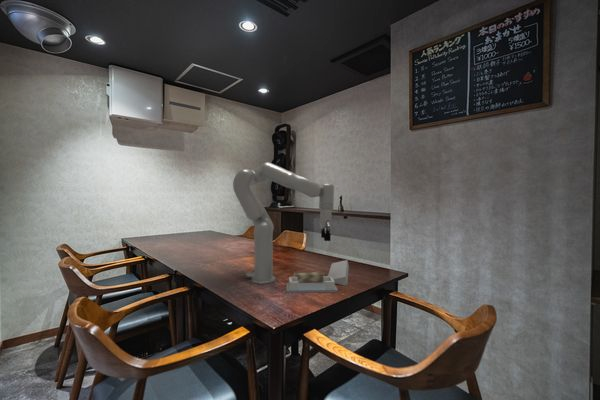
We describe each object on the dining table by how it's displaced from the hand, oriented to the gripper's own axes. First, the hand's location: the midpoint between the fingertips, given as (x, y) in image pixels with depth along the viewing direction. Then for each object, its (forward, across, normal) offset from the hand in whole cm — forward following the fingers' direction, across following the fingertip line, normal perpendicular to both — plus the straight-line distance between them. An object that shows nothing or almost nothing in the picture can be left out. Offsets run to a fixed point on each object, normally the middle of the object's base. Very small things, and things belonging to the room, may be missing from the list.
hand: (325, 239), depth 139 cm
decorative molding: (+23, -9, +10) cm, 26 cm away
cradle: (+22, +12, -9) cm, 27 cm away
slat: (+22, +1, -9) cm, 24 cm away
